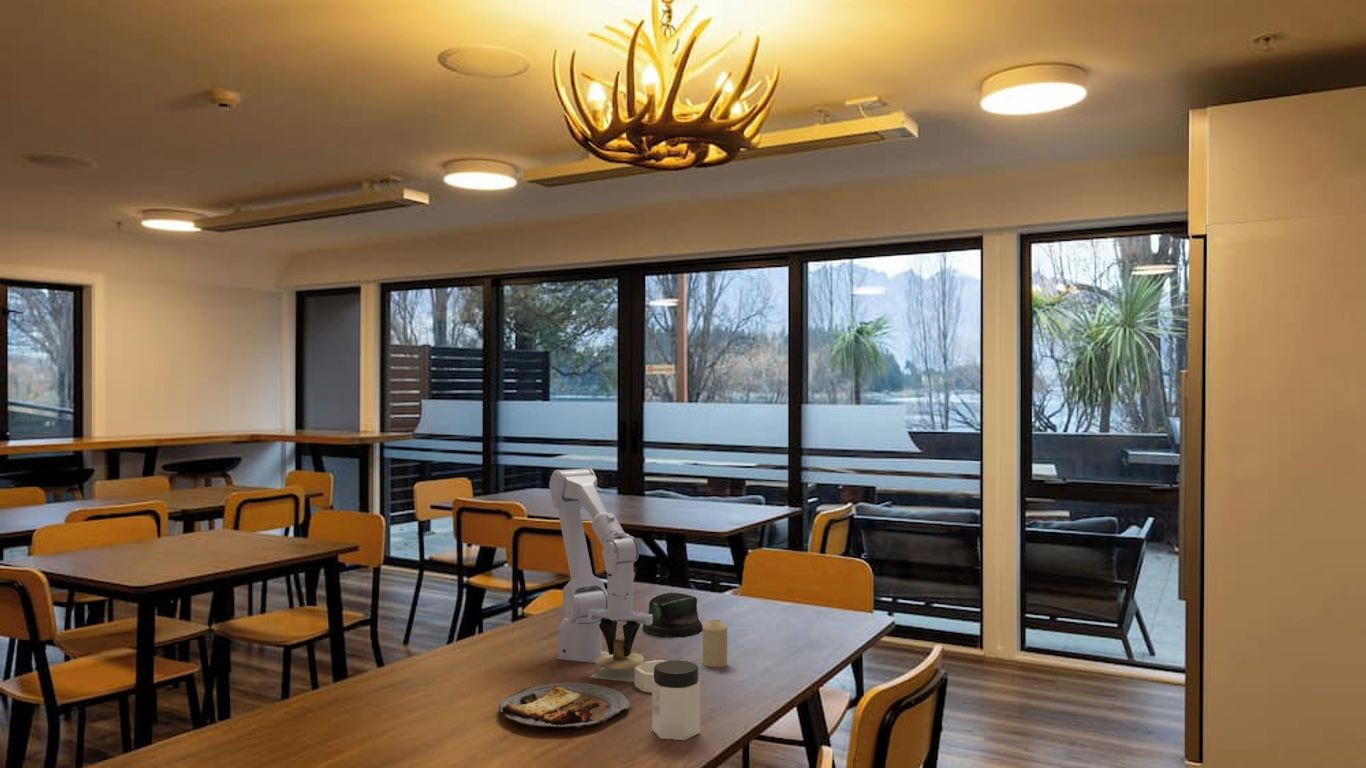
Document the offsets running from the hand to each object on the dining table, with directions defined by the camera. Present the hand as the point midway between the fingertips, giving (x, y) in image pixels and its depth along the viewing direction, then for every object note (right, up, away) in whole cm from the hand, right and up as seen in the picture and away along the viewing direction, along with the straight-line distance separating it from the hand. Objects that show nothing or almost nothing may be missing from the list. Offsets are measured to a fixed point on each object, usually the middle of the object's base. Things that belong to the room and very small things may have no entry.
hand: (619, 654), depth 204 cm
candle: (+21, -5, +7) cm, 23 cm away
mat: (0, -4, 0) cm, 4 cm away
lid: (0, -2, 0) cm, 2 cm away
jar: (+13, -5, -33) cm, 36 cm away
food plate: (-9, -5, -23) cm, 26 cm away
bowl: (+9, -4, -8) cm, 13 cm away
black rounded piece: (+11, -5, +37) cm, 39 cm away
